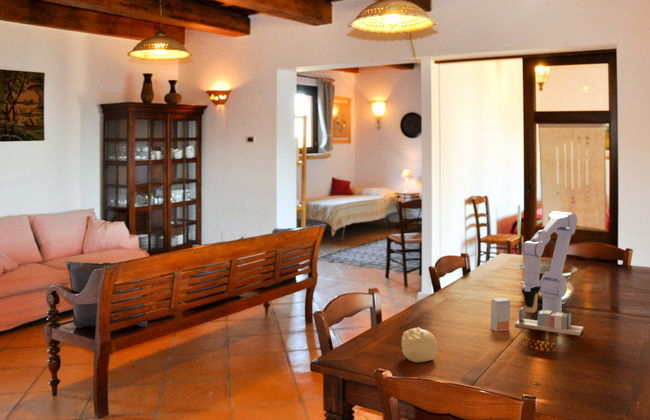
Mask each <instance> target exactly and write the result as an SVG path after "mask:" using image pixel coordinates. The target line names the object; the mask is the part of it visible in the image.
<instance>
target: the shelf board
mask: <svg viewBox="0 0 650 420" xmlns="http://www.w3.org/2000/svg"><path fill="white" fill-rule="evenodd" d="M537 321H538V320H534V319H526V318H524V320H523V321H522V322H521V323H519V319H518V320H517V321H516V322H515V323H514V327H518V328H522V329H523V328H524V329H531V330H537V331H539V330H540V331H546V332H552V333H559V334H566V335H574V336H581V334H582V332H583V331H584V326H579V325H572V324H571V326H570V328H569V329H568V330H567V329H559V328H552V327H545V326H538V325H537Z"/></svg>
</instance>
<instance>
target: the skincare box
mask: <svg viewBox="0 0 650 420" xmlns="http://www.w3.org/2000/svg"><path fill="white" fill-rule="evenodd" d="M490 303H491V304H490V329H491V330H492V331H495V332H503V331H504V332H505V331H510V317H511V300H510V299H508V298H506V297H502V298H501V297H499V298H491V301H490Z"/></svg>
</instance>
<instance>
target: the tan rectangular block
mask: <svg viewBox="0 0 650 420" xmlns="http://www.w3.org/2000/svg"><path fill="white" fill-rule="evenodd" d="M538 297H539V292H538V293H536V295H535V297H534V302H533V306H532V308H530V307H526V304H524V305H525V306H524V313H525V312H527V313H531V314H533V313H535V312H537V310H538Z"/></svg>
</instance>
